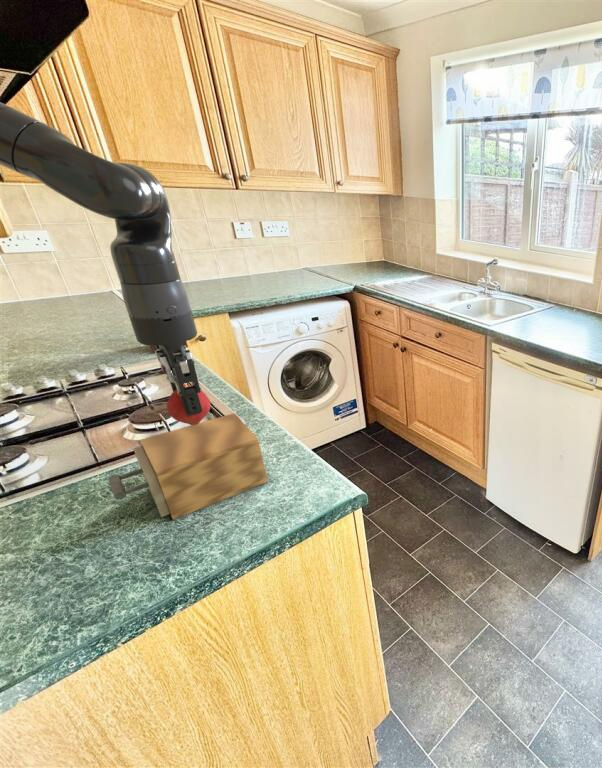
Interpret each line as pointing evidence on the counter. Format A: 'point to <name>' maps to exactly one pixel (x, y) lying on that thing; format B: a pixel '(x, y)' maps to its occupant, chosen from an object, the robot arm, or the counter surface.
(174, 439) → the cabinet
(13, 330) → the counter surface
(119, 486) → the drawer
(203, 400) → the onion
